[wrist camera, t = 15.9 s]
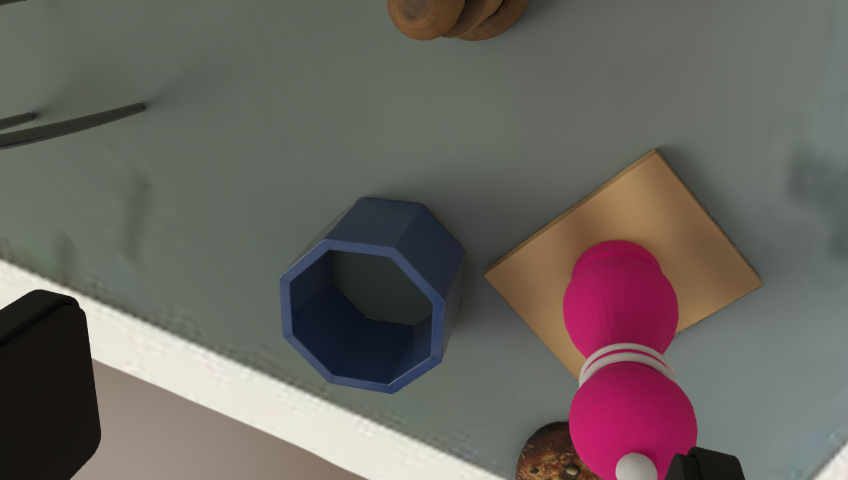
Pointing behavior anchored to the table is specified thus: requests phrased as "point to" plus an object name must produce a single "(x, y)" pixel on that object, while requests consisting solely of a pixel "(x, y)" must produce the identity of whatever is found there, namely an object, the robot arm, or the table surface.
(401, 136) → the table surface
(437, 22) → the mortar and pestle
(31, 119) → the juicer
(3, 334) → the robot arm
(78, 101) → the table surface
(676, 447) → the pepper mill
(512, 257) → the oak board
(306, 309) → the utensil crock
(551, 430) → the bread roll
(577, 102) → the table surface
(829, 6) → the table surface
